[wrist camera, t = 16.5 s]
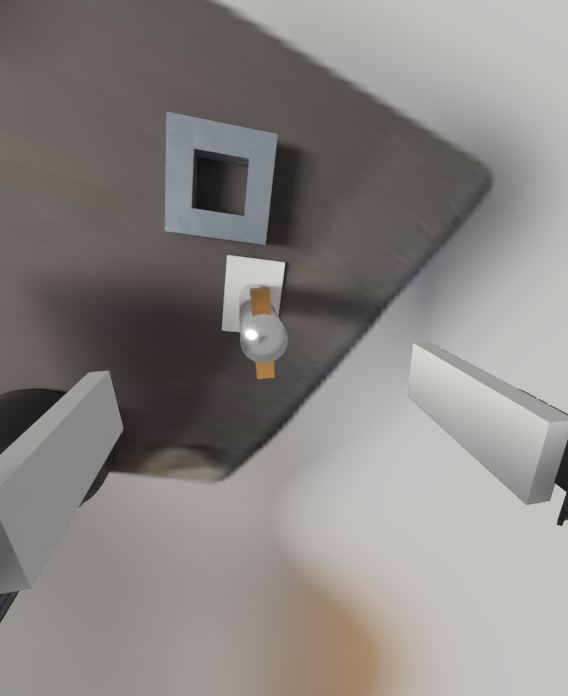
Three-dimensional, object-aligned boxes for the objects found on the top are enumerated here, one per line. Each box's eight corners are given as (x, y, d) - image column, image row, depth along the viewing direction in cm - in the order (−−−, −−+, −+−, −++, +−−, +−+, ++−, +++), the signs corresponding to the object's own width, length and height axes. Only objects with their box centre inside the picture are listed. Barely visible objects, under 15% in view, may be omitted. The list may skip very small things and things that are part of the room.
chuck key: (241, 326, 35) (244, 386, 21) (236, 270, 33) (235, 294, 18) (268, 324, 35) (289, 381, 21) (265, 268, 33) (286, 291, 19)
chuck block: (262, 244, 32) (265, 244, 29) (171, 231, 31) (164, 230, 28) (273, 144, 30) (277, 134, 27) (174, 125, 28) (166, 111, 25)
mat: (275, 334, 36) (275, 335, 35) (221, 329, 35) (221, 330, 34) (284, 262, 33) (285, 262, 33) (227, 254, 32) (227, 255, 32)
